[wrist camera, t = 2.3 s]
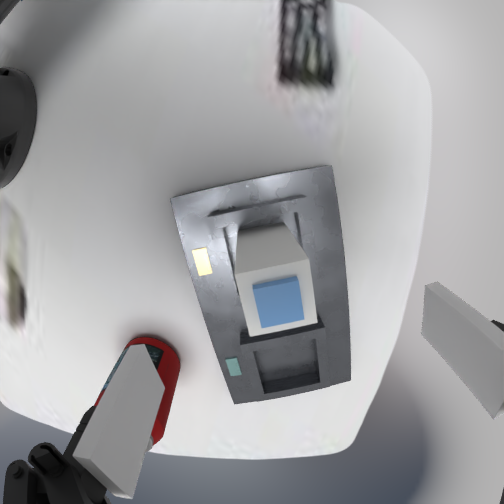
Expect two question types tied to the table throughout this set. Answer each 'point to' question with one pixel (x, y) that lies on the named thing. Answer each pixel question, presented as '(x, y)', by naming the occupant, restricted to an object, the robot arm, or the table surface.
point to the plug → (273, 280)
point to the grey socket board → (227, 295)
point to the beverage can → (168, 374)
